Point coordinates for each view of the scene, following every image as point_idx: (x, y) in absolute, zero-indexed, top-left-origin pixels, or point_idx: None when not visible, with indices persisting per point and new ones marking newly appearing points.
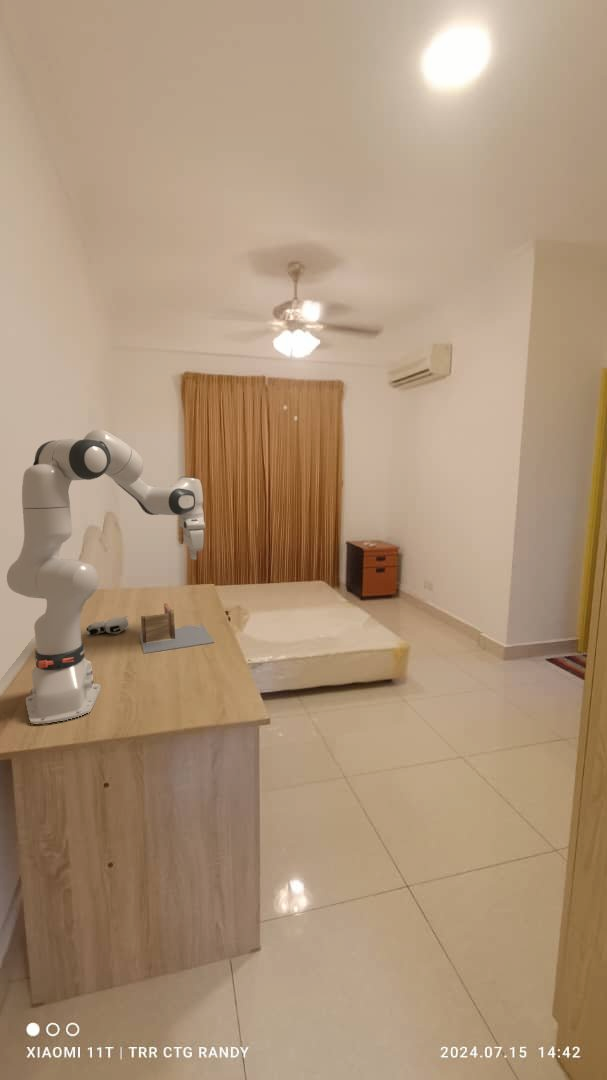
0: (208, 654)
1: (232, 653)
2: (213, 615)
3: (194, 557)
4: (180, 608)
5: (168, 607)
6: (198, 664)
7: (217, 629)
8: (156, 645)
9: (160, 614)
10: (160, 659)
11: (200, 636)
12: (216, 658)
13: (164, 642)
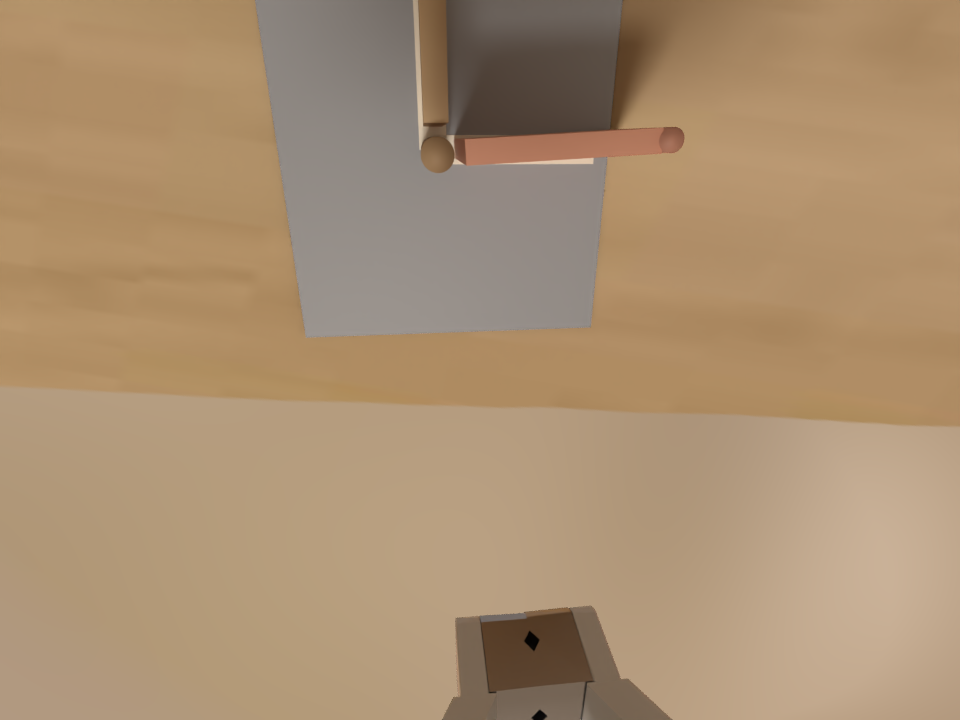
0: (159, 287)
1: (149, 386)
2: (686, 393)
3: (458, 680)
4: (900, 260)
5: (583, 150)
6: (31, 222)
7: (483, 378)
8: (349, 35)
9: (446, 63)
10: (134, 31)
11: (406, 291)
12: (99, 313)
13: (384, 91)
